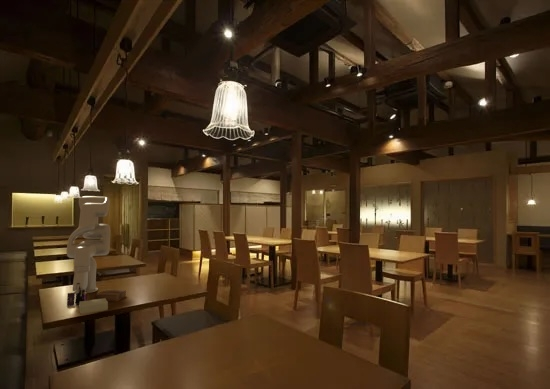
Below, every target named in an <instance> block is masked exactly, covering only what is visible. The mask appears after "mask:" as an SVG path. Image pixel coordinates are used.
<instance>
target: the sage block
mask: <svg viewBox="0 0 550 389" xmlns="http://www.w3.org/2000/svg"><path fill="white" fill-rule="evenodd" d="M78 310H79V313H80V315H85V314H90V313H97V312H103V311H108V310H109V301H107V300H106V298H102V299H96V298H95V299H89V300H88V299H87V301H80V302H79V305H78Z"/></svg>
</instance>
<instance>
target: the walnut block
mask: <svg viewBox="0 0 550 389" xmlns="http://www.w3.org/2000/svg"><path fill="white" fill-rule="evenodd" d="M126 293H127V291H126V290H125V289H124V290H123V289H105V290H102V291H101V292H97V293H96V294H95V299H102V298H106V300H107V302H118V301H120V300H122V299H124V298H125V297H126Z"/></svg>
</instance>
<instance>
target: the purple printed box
mask: <svg viewBox="0 0 550 389" xmlns="http://www.w3.org/2000/svg"><path fill="white" fill-rule="evenodd" d="M80 293H81V292H80ZM82 294H84V301H88V293H87V291H84V293H83V292H82ZM75 300H76V292H75V291H73V292H68V293H67V299H66V307H73V306H74V307H75V306H77V305H78V306H79V304H75Z"/></svg>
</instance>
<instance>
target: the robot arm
mask: <svg viewBox="0 0 550 389" xmlns="http://www.w3.org/2000/svg"><path fill="white" fill-rule="evenodd" d="M110 205H111V200H110V198H109V197H108V196H101V195H100V196H99V195H97V196H95V195H84V196H81V197H80V198H78V206H79V209H80V212H79V220H78V221H79V222H78V228H75V229H74V231H72V233H71V234H70V235H69V238H68V239H67V245H66V256H67V258H69V259H70V258H71V259H73V273H74V275H73V282H72V292H76V293H75V301H74V305H76V304H79V302H80V301H84V294H82V292H83V293H84V291H87V294H91V293H94V292H97V291H98V290H99V288H98V287H97V285H96V284H97V282H96V280H97V277H96V276H97V260H96V259H95V258H94V257H96V256H98V257H99V256H107V255H109V253H110V250H111V233H112V232H111V226H110V224H107V223H99V217H100V218H101V217H106V216H108V214H109V211H110V210H109V209H110ZM80 236H82V237H83V238H84V239H95V240H84V241H80V242H79V243H78V244H74V243H75V241H76V239H77V238H78V237H80ZM96 239H101V240H96ZM80 292H81V293H80Z"/></svg>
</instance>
